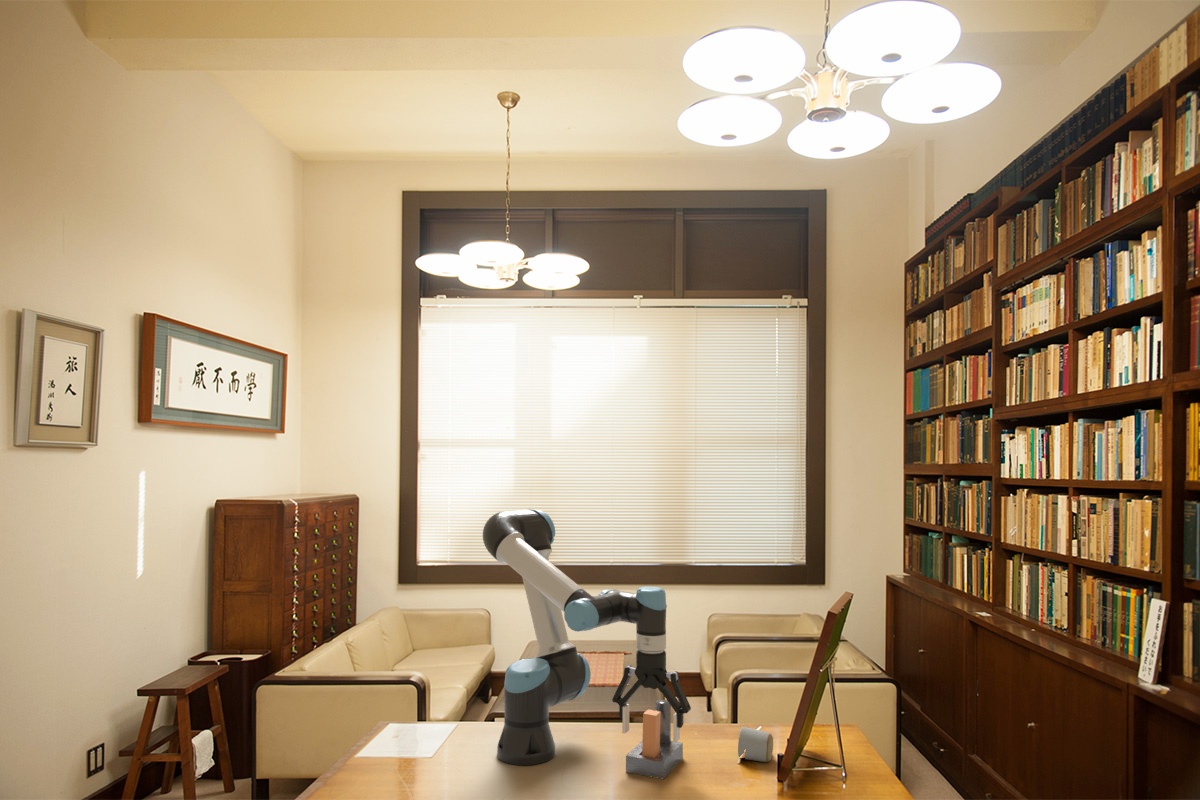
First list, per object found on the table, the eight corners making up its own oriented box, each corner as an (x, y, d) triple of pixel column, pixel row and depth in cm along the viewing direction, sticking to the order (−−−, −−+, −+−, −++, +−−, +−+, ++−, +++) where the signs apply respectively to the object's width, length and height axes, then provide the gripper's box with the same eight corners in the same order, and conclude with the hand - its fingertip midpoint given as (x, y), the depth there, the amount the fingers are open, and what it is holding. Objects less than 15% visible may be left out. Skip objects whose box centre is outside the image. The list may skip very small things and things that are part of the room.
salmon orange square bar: (641, 770, 197) (643, 713, 198) (646, 765, 200) (648, 709, 201) (654, 773, 196) (655, 715, 197) (659, 768, 199) (660, 711, 200)
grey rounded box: (769, 767, 200) (769, 736, 201) (737, 762, 203) (737, 731, 204) (775, 753, 210) (775, 723, 211) (745, 748, 213) (745, 719, 214)
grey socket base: (625, 772, 196) (626, 714, 197) (647, 751, 210) (648, 697, 211) (663, 779, 192) (663, 720, 193) (683, 757, 206) (683, 702, 207)
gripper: (600, 647, 202) (599, 732, 200) (693, 659, 191) (693, 749, 190) (611, 641, 209) (611, 723, 207) (703, 652, 198) (703, 738, 197)
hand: (650, 736), depth 199 cm, fingers open, 13 cm apart
